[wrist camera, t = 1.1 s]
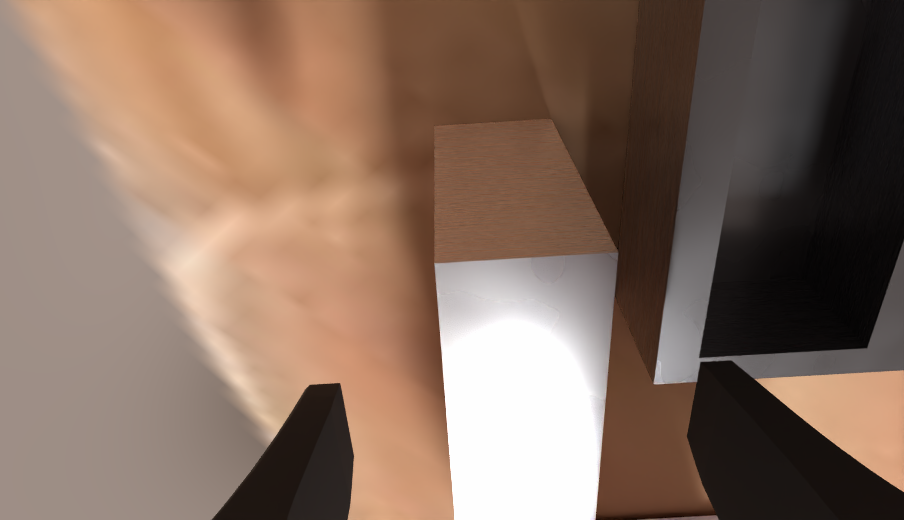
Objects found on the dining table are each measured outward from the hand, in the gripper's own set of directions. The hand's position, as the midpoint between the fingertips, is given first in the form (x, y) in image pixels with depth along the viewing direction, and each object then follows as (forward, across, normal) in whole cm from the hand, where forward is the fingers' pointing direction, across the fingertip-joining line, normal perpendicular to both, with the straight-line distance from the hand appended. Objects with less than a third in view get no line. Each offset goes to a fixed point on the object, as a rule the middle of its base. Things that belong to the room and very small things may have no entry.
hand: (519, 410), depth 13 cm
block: (+6, 0, 0) cm, 6 cm away
